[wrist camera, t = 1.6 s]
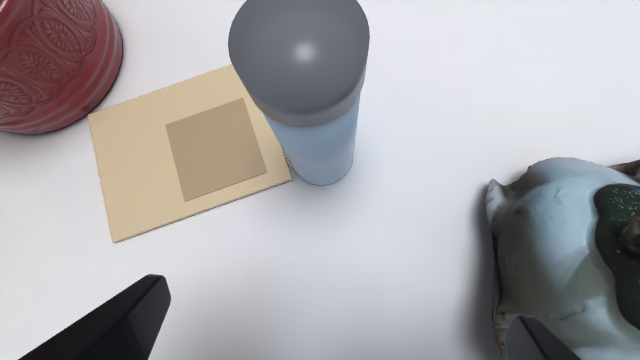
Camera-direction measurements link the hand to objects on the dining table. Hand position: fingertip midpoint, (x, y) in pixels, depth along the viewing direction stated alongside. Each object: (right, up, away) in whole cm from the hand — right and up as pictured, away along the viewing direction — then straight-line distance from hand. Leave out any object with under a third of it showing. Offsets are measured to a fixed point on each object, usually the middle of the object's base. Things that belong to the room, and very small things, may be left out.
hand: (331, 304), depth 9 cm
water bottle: (0, +5, +15) cm, 16 cm away
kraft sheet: (-10, +6, +16) cm, 19 cm away
